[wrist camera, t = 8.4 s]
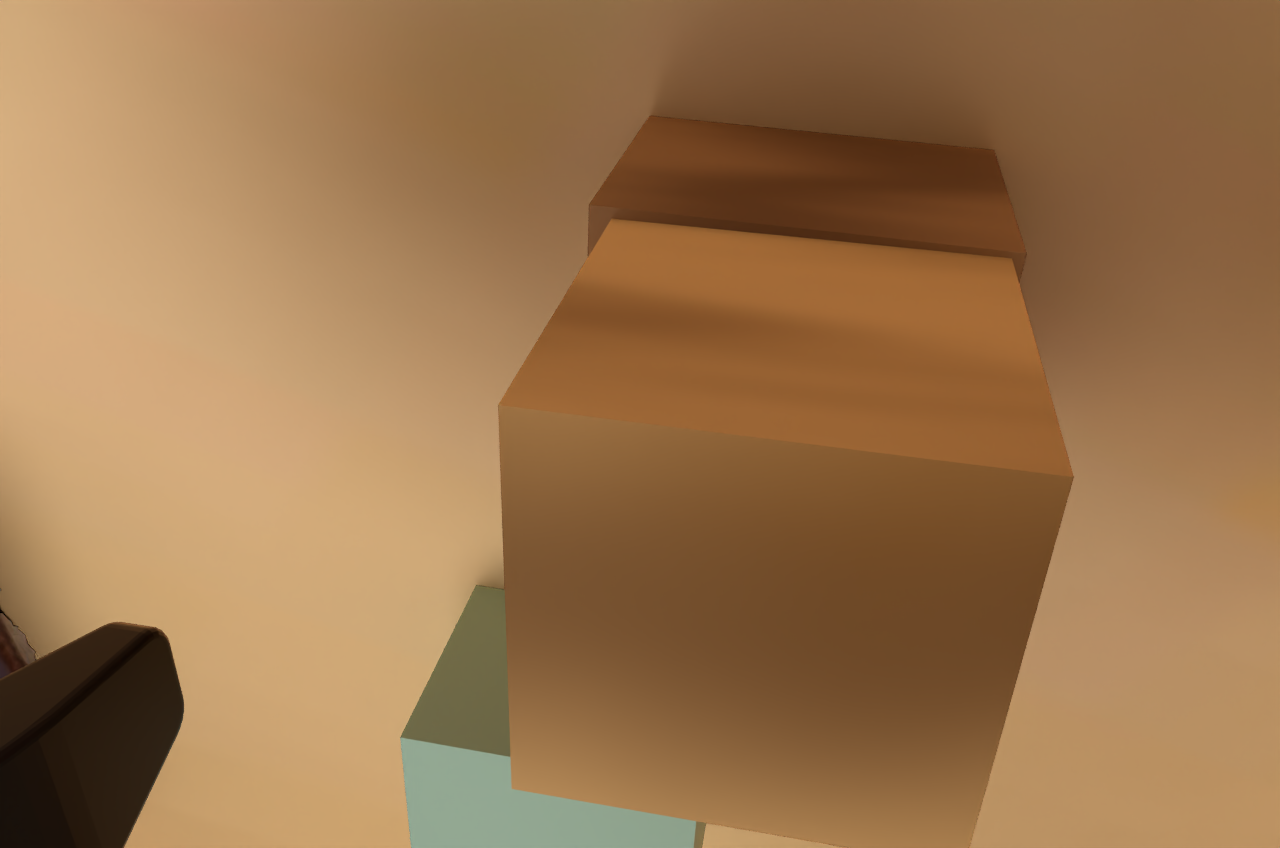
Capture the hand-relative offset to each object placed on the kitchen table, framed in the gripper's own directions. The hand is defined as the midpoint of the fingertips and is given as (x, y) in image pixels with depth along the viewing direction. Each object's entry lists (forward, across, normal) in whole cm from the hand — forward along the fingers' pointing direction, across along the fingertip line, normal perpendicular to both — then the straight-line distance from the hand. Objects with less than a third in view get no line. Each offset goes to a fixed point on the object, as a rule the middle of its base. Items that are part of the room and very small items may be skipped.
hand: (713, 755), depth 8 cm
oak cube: (+6, 0, 0) cm, 6 cm away
